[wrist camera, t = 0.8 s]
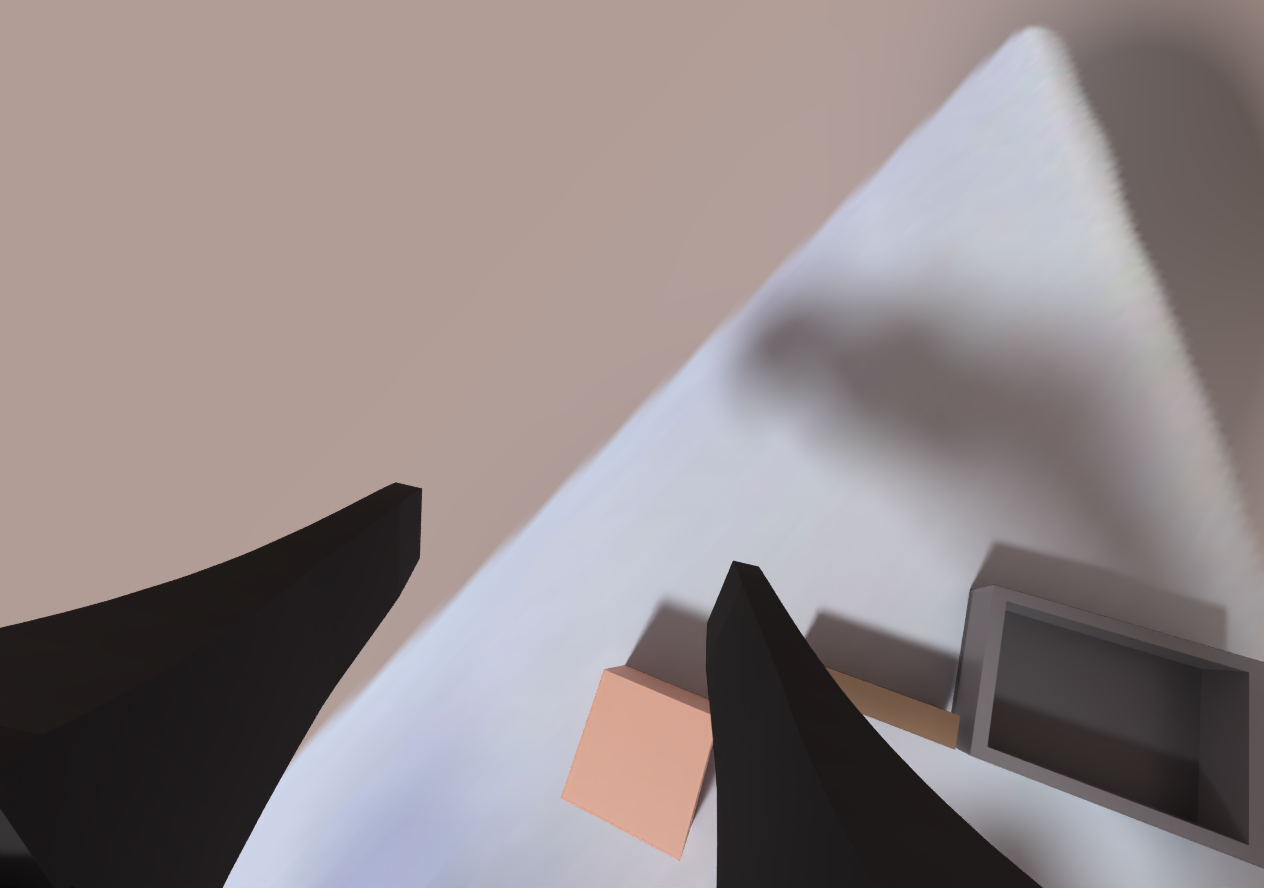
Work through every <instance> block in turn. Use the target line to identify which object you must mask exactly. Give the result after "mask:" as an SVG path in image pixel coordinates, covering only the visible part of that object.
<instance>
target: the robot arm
mask: <svg viewBox="0 0 1264 888" xmlns="http://www.w3.org/2000/svg"><path fill="white" fill-rule="evenodd" d="M421 503H422V488H418V487H413V486H409V485H405V484H400V483H393V484H391V485H389V486H386V487H384V488H382V489H380V490H378V491H376V492H374V493H373V494H371V495H369V496H367V497H365V498H363V499H361V500H359V501H357V502H355V503H353V504H351V505H349V506H347V507H345V508H343V509H341V510H340V511H337V512H335V513H333V514H331V515H329V516H327V517H325V518H323V519H321V520H319V521H317V522H315V523H313V524H311V525H309V526H307V527H305V528H303V529H300V530H299V531H296V532H294V533H292V534H289V535H287V536H285V537H283V538H281V539H278V540H276V541H274V542H272V543H269V544H267V545H265V546H263V547H260V548H258V549H256V550H254V551H251V552H249V553H246V554H244V555H241V556H239V557H236V558H234V559H231V560H229V561H226V562H223V563H221V564H218V565H216V566H212V567H210V568H207V569H204V570H202V571H199V572H197V573H193V574H191V575H188V576H185V577H182V578H179V579H176V580H173V581H169V582H166V583H163V584H160V585H157V586H153V587H150V588H147V589H144V590H141V591H138V592H134V593H131V594H128V595H124V596H121V597H118V598H115V599H111V600H108V601H104V602H101V603H97V604H93V605H90V606H86V607H83V608H79V609H75V610H71V611H67V612H64V613H60V614H56V615H51V616H48V617H44V618H39V619H35V620H31V621H27V622H23V623H19V624H15V625H10V626H6V627H2V628H0V888H223V886H224V884H225V882H226V880H227V878H228V876H229V874H230V872H231V870H232V868H233V866H234V864H235V863H236V861H237V859H238V857H239V855H240V853H241V851H242V849H243V847H244V846H245V844H246V842H247V840H248V838H249V836H250V834H251V832H252V831H253V829H254V827H255V825H256V823H257V821H258V819H259V817H260V815H261V814H262V812H263V810H264V808H265V806H266V804H267V802H268V801H269V799H270V797H271V795H272V793H273V792H274V790H275V788H276V786H277V784H278V783H279V781H280V779H281V777H282V776H283V774H284V772H285V770H286V768H287V767H288V765H289V763H290V761H291V759H292V758H293V756H294V754H295V752H296V751H297V749H298V747H299V745H300V744H301V742H302V740H303V739H304V737H305V735H306V733H307V732H308V730H309V728H310V726H311V725H312V723H313V721H314V720H315V718H316V716H317V715H318V713H319V711H320V709H321V708H322V706H323V705H324V703H325V701H326V700H327V698H328V697H329V695H330V694H331V692H332V691H333V689H334V688H335V686H336V685H337V683H338V682H339V680H340V679H341V678H342V676H343V675H344V674H345V672H346V671H347V669H348V668H349V667H350V665H351V664H352V662H353V661H354V660H355V658H356V657H357V655H358V654H359V653H360V651H361V650H362V648H363V647H364V646H365V644H366V643H367V642H368V640H369V639H370V637H371V636H372V635H373V633H374V632H375V630H376V629H377V628H378V626H379V625H380V623H381V622H382V620H383V619H384V618H385V616H386V615H387V613H388V612H389V611H390V609H391V608H392V606H393V605H394V603H395V602H396V601H397V599H398V597H399V596H400V594H401V592H402V590H403V589H404V587H405V585H406V583H407V581H408V579H409V577H410V576H411V574H412V572H413V570H414V568H415V566H416V564H417V562H418V560H419V559H420V537H421V505H422V504H421ZM706 673H707V685H708V696H709V706H710V716H711V727H712V737H713V747H714V758H715V768H716V785H717V888H1042V887H1041V886H1040V885H1039V884H1037V883H1036V882H1035V881H1034V880H1033V879H1032V878H1030V877H1029V876H1028V875H1027V874H1026V873H1024V872H1023V871H1022V870H1021V869H1020V868H1018V867H1017V866H1016V865H1015V864H1014V863H1013V862H1011V861H1010V860H1009V859H1008V858H1007V857H1005V856H1004V855H1003V854H1002V853H1001V852H999V851H998V850H997V849H996V848H995V847H994V846H992V845H991V844H990V843H989V842H988V841H987V840H986V839H985V838H983V837H982V836H981V835H980V834H979V833H978V832H977V831H976V830H975V829H974V828H973V827H971V826H970V825H969V824H968V823H967V822H966V821H965V820H964V819H963V818H962V817H961V816H960V815H958V814H957V813H956V812H955V811H954V810H953V809H952V808H951V807H950V806H949V805H948V804H947V803H946V802H945V801H944V800H943V799H941V798H940V797H939V796H938V795H937V794H936V793H935V792H934V791H933V790H932V789H931V788H930V787H929V786H928V785H927V784H926V783H925V782H924V781H923V780H922V779H921V778H920V777H919V776H918V775H917V774H916V773H915V772H914V771H913V770H912V768H911V767H910V766H909V765H908V764H907V763H906V762H905V761H904V760H903V759H902V758H901V757H900V756H899V755H898V754H897V753H896V752H895V751H894V750H893V749H892V748H891V747H890V745H889V744H888V743H887V742H886V741H885V740H884V739H883V738H882V737H881V736H880V734H879V733H878V732H877V731H876V730H875V729H874V728H873V726H872V725H871V724H870V723H869V722H868V720H867V719H866V718H865V717H864V716H863V715H862V713H861V712H860V711H859V710H858V709H857V708H856V706H855V705H854V704H853V703H852V702H851V700H850V699H849V698H848V697H847V695H846V694H845V693H844V692H843V690H842V689H841V688H840V687H839V685H838V684H837V683H836V681H835V680H834V679H833V677H832V676H831V675H830V673H829V672H828V671H827V669H826V668H825V666H824V665H823V664H822V662H821V661H820V660H819V658H818V657H817V655H816V654H815V653H814V651H813V650H812V648H811V647H810V646H809V644H808V643H807V641H806V640H805V638H804V637H803V635H802V634H801V632H800V631H799V629H798V628H797V626H796V625H795V623H794V622H793V620H792V618H791V617H790V615H789V614H788V612H787V611H786V609H785V607H784V606H783V604H782V603H781V601H780V600H779V598H778V596H777V595H776V593H775V591H774V590H773V588H772V587H771V585H770V583H769V582H768V580H767V579H766V577H765V575H764V574H763V572H762V571H761V569H760V568H759V567H758V566H754V565H750V564H745V563H741V562H737V561H733V562H732V564H731V567H730V569H729V572H728V574H727V576H726V579H725V581H724V584H723V586H722V589H721V591H720V593H719V596H718V598H717V601H716V603H715V606H714V608H713V610H712V613H711V615H710V618H709V620H708V623H707V640H706Z"/></svg>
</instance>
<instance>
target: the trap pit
mask: <svg viewBox="0 0 1264 888" xmlns="http://www.w3.org/2000/svg"><path fill="white" fill-rule="evenodd" d="M951 713H953V714H956V715H958V716H960V720H959V727H958V734H957V741H956V748H957V749H959V750H961V751H963V752H965V753H967V754H968V755H970V756H973V757H976V758H978V759H981V760H983V761H986V762H989V763H991V764H994V765H996V766H999V767H1002V768H1004V769H1007V770H1009V771H1012V772H1014V773H1017V774H1020V775H1022V776H1025V777H1027V778H1030V779H1033V780H1035V781H1038V782H1040V783H1043V784H1046V785H1048V786H1051V787H1053V788H1056V789H1059V790H1061V791H1064V792H1066V793H1069V794H1072V795H1074V796H1077V797H1079V798H1082V799H1085V800H1087V801H1090V802H1092V803H1095V804H1098V805H1100V806H1103V807H1105V808H1108V809H1111V810H1113V811H1116V812H1118V813H1121V814H1124V815H1126V816H1129V817H1131V818H1134V819H1137V820H1139V821H1142V822H1144V823H1147V824H1150V825H1152V826H1155V827H1157V828H1160V829H1163V830H1165V831H1168V832H1170V833H1173V834H1176V835H1178V836H1181V837H1183V838H1186V839H1189V840H1191V841H1194V842H1196V843H1199V844H1202V845H1204V846H1207V847H1209V848H1212V849H1215V850H1217V851H1220V852H1222V853H1225V854H1228V855H1230V856H1233V857H1235V858H1238V859H1240V860H1243V861H1246V862H1248V863H1251V864H1253V865H1256V866H1259V867H1261V868H1264V662H1261V661H1258V660H1254V659H1251V658H1247V657H1244V656H1240V655H1237V654H1233V653H1230V652H1226V651H1223V650H1220V649H1216V648H1213V647H1209V646H1206V645H1202V644H1199V643H1195V642H1192V641H1188V640H1185V639H1181V638H1178V637H1174V636H1171V635H1167V634H1164V633H1160V632H1157V631H1153V630H1150V629H1147V628H1143V627H1140V626H1136V625H1133V624H1129V623H1126V622H1122V621H1119V620H1115V619H1112V618H1108V617H1105V616H1101V615H1098V614H1094V613H1091V612H1087V611H1084V610H1080V609H1077V608H1074V607H1070V606H1067V605H1063V604H1060V603H1056V602H1053V601H1049V600H1046V599H1042V598H1039V597H1035V596H1032V595H1028V594H1025V593H1021V592H1018V591H1014V590H1011V589H1007V588H1004V587H1000V586H997V585H990V586H986V587H981V588H976V589H972V590H970V593H969V599H968V606H967V613H966V619H965V626H964V632H963V639H962V645H961V652H960V659H959V665H958V672H957V678H956V685H955V691H954V698H953V705H952V711H951Z"/></svg>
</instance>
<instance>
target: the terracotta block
mask: <svg viewBox="0 0 1264 888" xmlns="http://www.w3.org/2000/svg"><path fill="white" fill-rule="evenodd" d="M712 747H713V737H712V727H711V716H710V706H709V700H708V699H706V698H703V697H701V696H698V695H696V694H694V693H691V692H689V691H686V690H684V689H682V688H679V687H677V686H674V685H672V684H669V683H667V682H665V681H662V680H660V679H657V678H655V677H652V676H650V675H648V674H645V673H643V672H640V671H638V670H636V669H633V668H631V667H628V666H626V665H623V666H618V667H614V668H609V669H604V671H603V674H602V677H601V680H600V683H599V686H598V689H597V692H596V695H595V698H594V701H593V704H592V707H591V710H590V713H589V716H588V719H587V722H586V725H585V728H584V731H583V734H582V737H581V739H580V742H579V745H578V748H577V751H576V754H575V757H574V760H573V763H572V766H571V769H570V772H569V775H568V778H567V781H566V784H565V787H564V790H563V793H562V796H561V799H563V800H565V801H567V802H569V803H571V804H573V805H575V806H577V807H579V808H580V809H582V810H584V811H586V812H588V813H590V814H592V815H594V816H596V817H598V818H599V819H601V820H603V821H605V822H607V823H609V824H611V825H613V826H615V827H617V828H618V829H620V830H622V831H624V832H626V833H628V834H630V835H632V836H634V837H636V838H637V839H639V840H641V841H643V842H645V843H647V844H649V845H651V846H653V847H655V848H656V849H658V850H660V851H662V852H664V853H666V854H668V855H670V856H672V857H673V858H675V859H677V860H679V861H680V859H681V856H682V852H683V849H684V846H685V843H686V840H687V837H688V834H689V831H690V828H691V825H692V821H693V817H694V814H695V810H696V806H697V802H698V799H699V795H700V791H701V788H702V784H703V780H704V776H705V773H706V769H707V765H708V762H709V758H710V754H711V750H712Z"/></svg>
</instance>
